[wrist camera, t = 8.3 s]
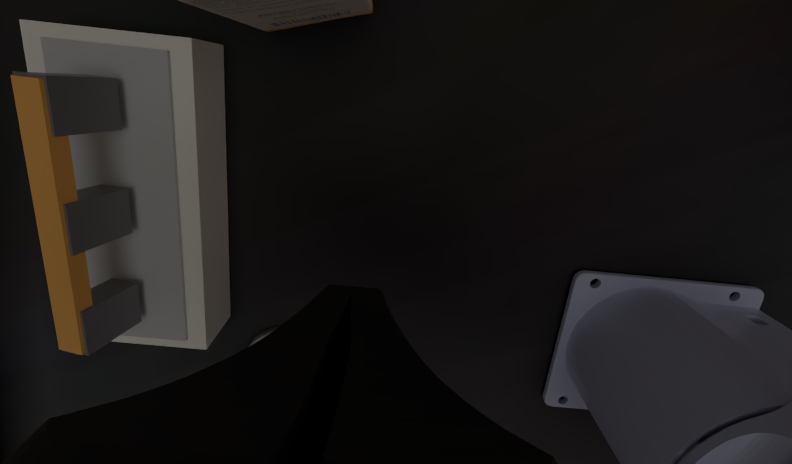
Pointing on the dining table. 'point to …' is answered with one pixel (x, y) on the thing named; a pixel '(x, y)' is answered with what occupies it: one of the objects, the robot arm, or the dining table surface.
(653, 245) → the dining table surface
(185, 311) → the tray
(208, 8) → the supplement box
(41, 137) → the bar
